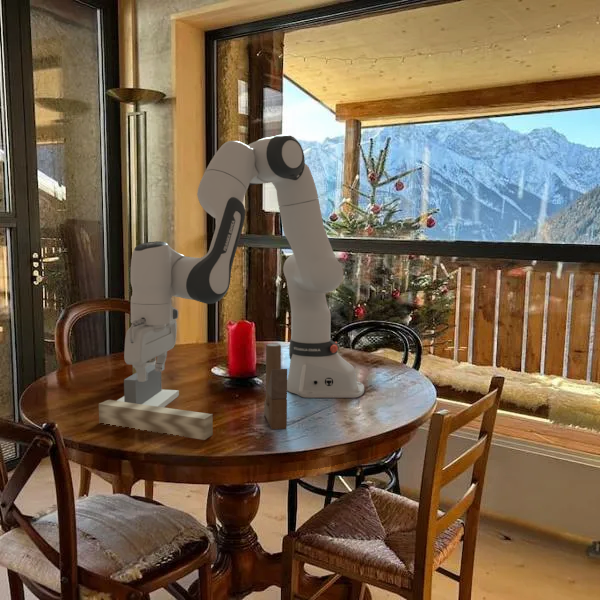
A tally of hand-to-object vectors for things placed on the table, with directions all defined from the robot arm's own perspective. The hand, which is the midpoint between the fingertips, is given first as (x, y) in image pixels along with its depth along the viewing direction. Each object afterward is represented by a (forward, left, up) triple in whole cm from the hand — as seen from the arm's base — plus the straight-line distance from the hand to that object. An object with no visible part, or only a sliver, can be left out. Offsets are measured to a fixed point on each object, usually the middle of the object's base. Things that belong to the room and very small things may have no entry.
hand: (151, 375), depth 134 cm
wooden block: (-26, -10, -13) cm, 31 cm away
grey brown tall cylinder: (+20, -40, -13) cm, 46 cm away
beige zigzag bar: (0, 0, -13) cm, 13 cm away
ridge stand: (+10, -17, -12) cm, 23 cm away
